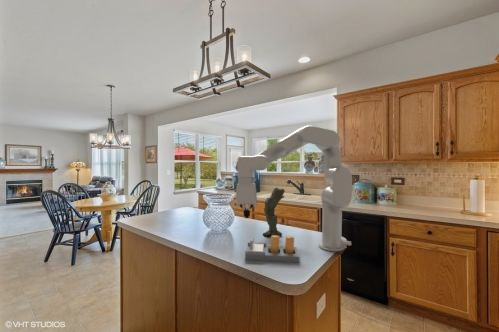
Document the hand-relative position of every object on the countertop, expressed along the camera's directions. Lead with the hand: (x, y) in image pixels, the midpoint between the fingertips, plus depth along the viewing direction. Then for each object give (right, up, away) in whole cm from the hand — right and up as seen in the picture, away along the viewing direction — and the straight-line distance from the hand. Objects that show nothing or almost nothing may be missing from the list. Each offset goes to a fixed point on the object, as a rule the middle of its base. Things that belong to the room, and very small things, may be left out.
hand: (246, 217), depth 116 cm
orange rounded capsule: (+13, -17, -6) cm, 22 cm away
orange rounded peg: (+20, -17, -7) cm, 27 cm away
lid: (+5, -14, -5) cm, 16 cm away
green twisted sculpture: (+16, -16, +25) cm, 34 cm away
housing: (+12, -17, -6) cm, 21 cm away
